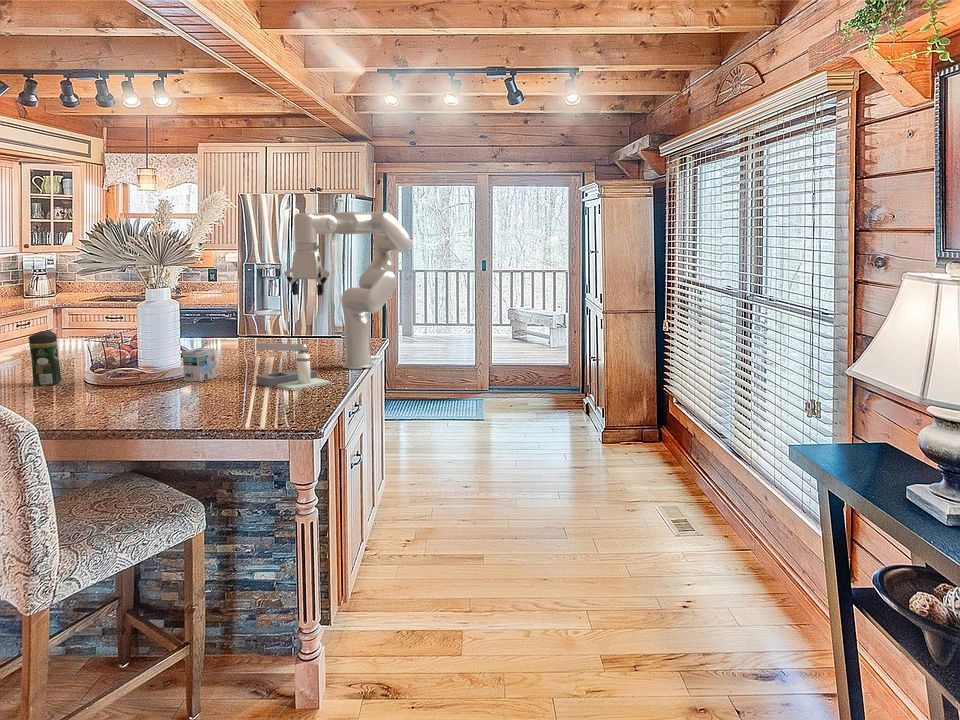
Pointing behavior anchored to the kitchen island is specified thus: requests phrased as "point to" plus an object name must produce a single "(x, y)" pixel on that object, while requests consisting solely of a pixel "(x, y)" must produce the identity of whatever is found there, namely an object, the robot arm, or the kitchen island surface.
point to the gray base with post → (281, 377)
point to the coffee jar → (44, 358)
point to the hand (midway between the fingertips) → (307, 294)
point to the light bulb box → (199, 364)
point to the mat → (297, 386)
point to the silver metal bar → (281, 347)
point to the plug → (303, 368)
